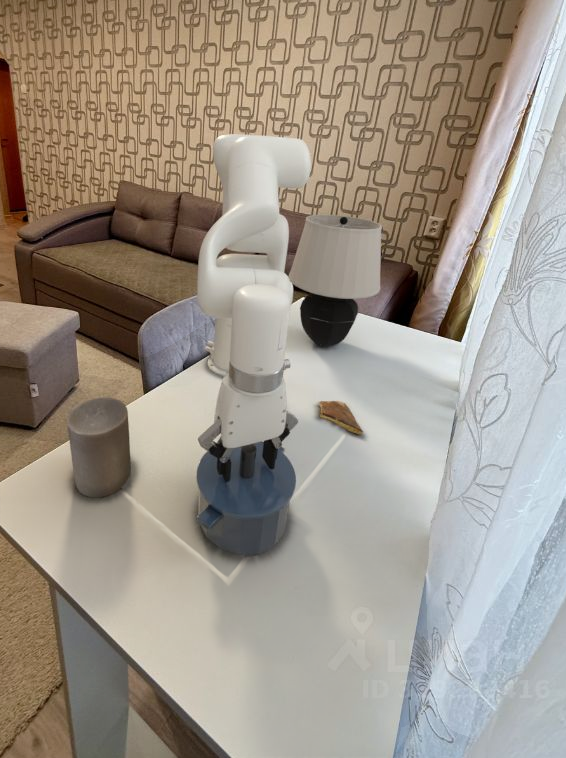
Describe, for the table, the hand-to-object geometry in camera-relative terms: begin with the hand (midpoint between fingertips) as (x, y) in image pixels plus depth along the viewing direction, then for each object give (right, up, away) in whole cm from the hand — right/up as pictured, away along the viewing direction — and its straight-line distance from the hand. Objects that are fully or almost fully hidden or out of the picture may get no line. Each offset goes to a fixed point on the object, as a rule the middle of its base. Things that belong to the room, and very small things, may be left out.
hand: (246, 468), depth 62 cm
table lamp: (+24, +13, +63) cm, 69 cm away
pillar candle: (-26, -5, +9) cm, 28 cm away
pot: (-1, -9, +4) cm, 10 cm away
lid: (0, -1, +1) cm, 2 cm away
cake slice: (+22, -1, +30) cm, 37 cm away
